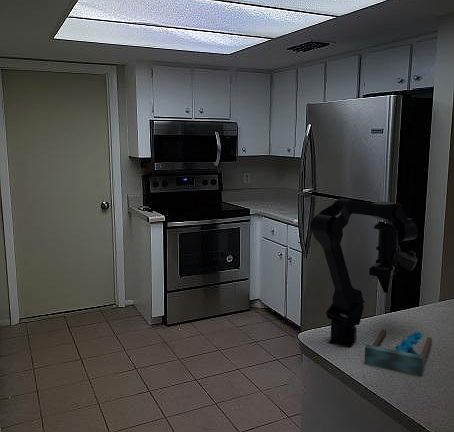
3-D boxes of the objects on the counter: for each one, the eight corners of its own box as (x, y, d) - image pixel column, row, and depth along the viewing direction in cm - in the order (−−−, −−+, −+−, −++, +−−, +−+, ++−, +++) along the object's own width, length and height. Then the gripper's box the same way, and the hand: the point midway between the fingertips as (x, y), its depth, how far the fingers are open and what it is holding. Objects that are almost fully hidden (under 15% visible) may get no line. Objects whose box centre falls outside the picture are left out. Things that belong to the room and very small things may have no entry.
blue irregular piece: (394, 341, 131) (421, 324, 125) (409, 358, 129) (438, 341, 124) (384, 361, 122) (412, 343, 116) (400, 379, 121) (430, 362, 115)
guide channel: (364, 363, 121) (364, 347, 120) (381, 335, 139) (382, 321, 139) (421, 375, 114) (422, 358, 113) (431, 344, 132) (432, 329, 132)
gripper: (409, 251, 128) (407, 305, 130) (421, 240, 143) (419, 288, 146) (369, 247, 134) (367, 299, 136) (385, 237, 149) (383, 283, 151)
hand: (386, 292), depth 142 cm, fingers closed
